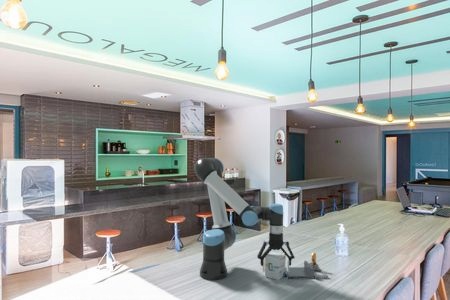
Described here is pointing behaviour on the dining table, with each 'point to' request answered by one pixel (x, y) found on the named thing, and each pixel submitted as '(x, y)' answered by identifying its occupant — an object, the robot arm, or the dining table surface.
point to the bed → (300, 272)
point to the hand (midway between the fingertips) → (275, 271)
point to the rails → (321, 275)
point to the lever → (314, 262)
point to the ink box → (275, 265)
